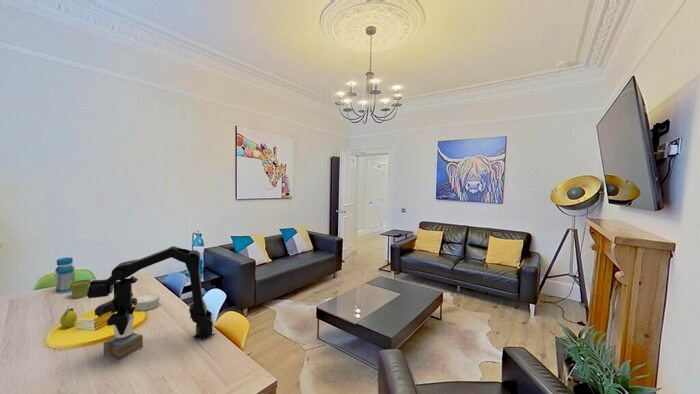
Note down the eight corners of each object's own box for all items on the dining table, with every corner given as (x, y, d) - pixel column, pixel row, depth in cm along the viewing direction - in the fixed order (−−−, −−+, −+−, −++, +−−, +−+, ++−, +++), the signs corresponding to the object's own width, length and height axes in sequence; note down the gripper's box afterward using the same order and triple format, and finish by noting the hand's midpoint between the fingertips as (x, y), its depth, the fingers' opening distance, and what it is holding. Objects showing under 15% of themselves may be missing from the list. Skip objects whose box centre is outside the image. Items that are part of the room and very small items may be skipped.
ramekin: (130, 309, 148) (129, 299, 148) (151, 301, 159) (151, 292, 158) (143, 313, 144) (143, 304, 144) (164, 305, 155) (164, 296, 154)
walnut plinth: (142, 346, 117) (142, 334, 117) (119, 359, 108) (119, 346, 108) (127, 342, 119) (127, 330, 119) (103, 354, 111) (103, 341, 110)
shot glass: (122, 340, 109) (121, 323, 109) (108, 337, 111) (107, 320, 110) (138, 330, 116) (138, 314, 116) (125, 328, 117) (124, 312, 117)
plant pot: (93, 295, 163) (93, 281, 162) (71, 301, 155) (71, 286, 154) (88, 291, 168) (88, 278, 167) (66, 297, 160) (66, 282, 159)
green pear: (65, 331, 126) (64, 310, 125) (55, 329, 127) (54, 308, 126) (82, 324, 132) (81, 303, 132) (72, 322, 134) (72, 302, 133)
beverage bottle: (65, 293, 164) (64, 261, 163) (51, 293, 164) (50, 260, 163) (79, 288, 172) (78, 257, 171) (66, 287, 172) (65, 256, 171)
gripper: (104, 288, 117) (105, 324, 118) (88, 307, 100) (89, 348, 101) (137, 284, 122) (137, 318, 123) (126, 301, 106) (127, 340, 107)
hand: (123, 330), depth 113 cm, fingers closed on shot glass, 6 cm apart
